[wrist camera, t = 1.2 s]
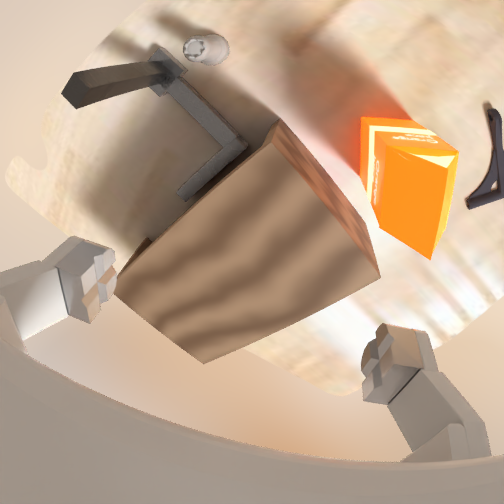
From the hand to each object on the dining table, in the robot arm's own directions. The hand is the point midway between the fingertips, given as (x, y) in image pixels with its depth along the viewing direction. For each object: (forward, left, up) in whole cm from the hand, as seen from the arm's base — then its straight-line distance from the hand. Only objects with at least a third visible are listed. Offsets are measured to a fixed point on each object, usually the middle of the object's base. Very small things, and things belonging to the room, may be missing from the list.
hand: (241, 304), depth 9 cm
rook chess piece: (-13, -2, -36) cm, 38 cm away
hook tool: (-9, -13, -36) cm, 39 cm away
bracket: (+23, +23, -37) cm, 49 cm away
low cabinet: (+10, -18, -36) cm, 41 cm away
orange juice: (+12, +7, -36) cm, 39 cm away
